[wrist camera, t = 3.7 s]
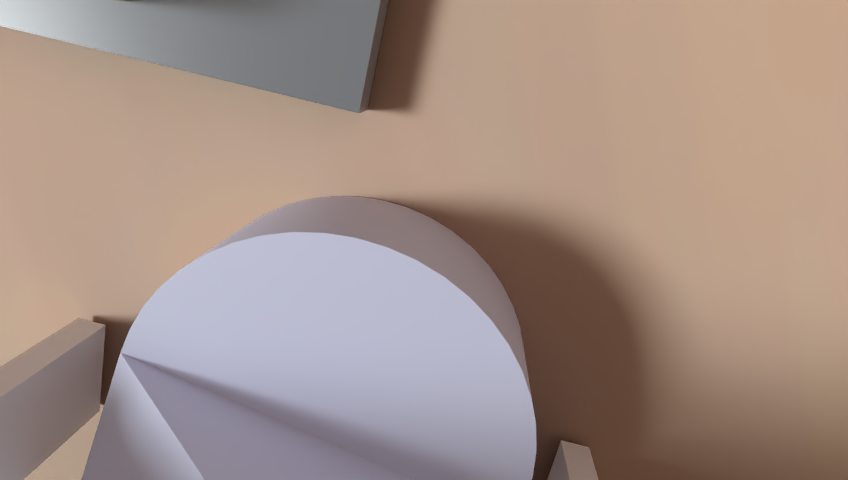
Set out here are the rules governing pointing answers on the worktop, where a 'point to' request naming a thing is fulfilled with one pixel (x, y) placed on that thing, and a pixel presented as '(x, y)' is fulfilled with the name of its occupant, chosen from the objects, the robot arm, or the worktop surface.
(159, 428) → the wedge on round base
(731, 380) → the worktop surface
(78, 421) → the robot arm
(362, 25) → the pin plate
